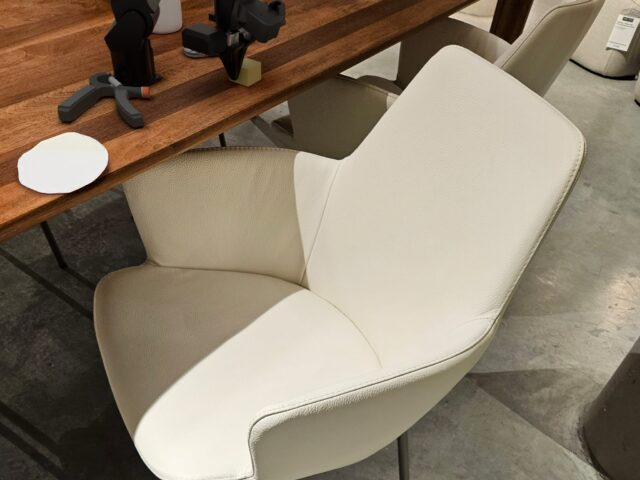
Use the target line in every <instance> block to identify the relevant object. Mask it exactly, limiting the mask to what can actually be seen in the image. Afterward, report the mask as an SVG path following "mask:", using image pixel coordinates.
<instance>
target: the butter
mask: <svg viewBox="0 0 640 480" xmlns="http://www.w3.org/2000/svg"><path fill="white" fill-rule="evenodd" d="M228 77H229V76H228ZM228 80H229V81H230V82H233V83H236V84H239V85H240V86H241V85H242V86H245V87H248V88H249V87H250V86H252V85H254V84H256V83H258V82H259V81H261V80H262V62H261V61H258V60H255V59H252V58H249V57H244V60H243V64H242V67H241V70H240V74H239V77H238V80H236V81H233V80H231V79H230V77H229V79H228Z"/></svg>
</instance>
